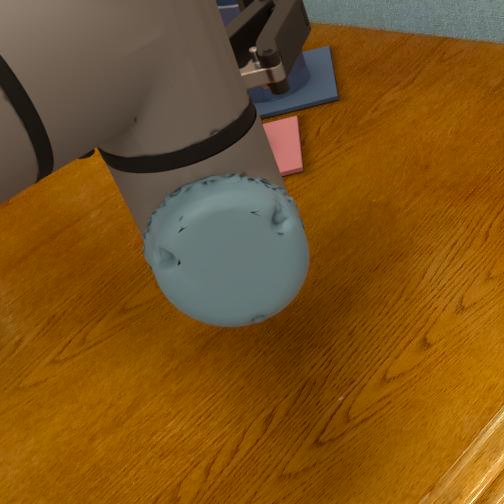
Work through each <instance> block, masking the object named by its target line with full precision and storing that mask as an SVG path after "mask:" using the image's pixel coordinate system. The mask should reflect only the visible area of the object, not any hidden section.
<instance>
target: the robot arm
mask: <svg viewBox="0 0 504 504" xmlns="http://www.w3.org/2000/svg"><path fill="white" fill-rule="evenodd" d="M236 1H237V4H238V7H239V10H240V12H241V13H240V14H239V15H238V16H237V17H236V18H235V19H234V20H233V21H231V22H230V23H229V24H228V25H227V26H226V27H225V26H224V23H223V20H222V18H221V15H220V12H219V9H218V6H217V3H216V0H0V206H1V205H3V204H5V203H6V202H9V200H11V199H13V198H14V197H16V196H17V195H19V194H21V193H23V192H24V191H26V190H27V189H29V188H30V187H32V186H33V185H35V184H38V183H40V181H42V180H44V179H45V178H47V177H49V176H51V175H52V174H54V173H55V172H58V171H59V170H61V169H63V168H64V167H65V166H67V165H70V164H71V163H73V162H75V161H76V160H85V159H88V158H91V157H92V156H94V155H95V153H96V149H97V150H98V153H99V154H100V156H101V158H102V160H103V162H104V163H105V165H106V166H107V169H108V170H109V173H110V175H111V177H112V178H113V180H114V183H115V184H116V186H117V188H118V191H119V192H120V194H121V196H122V198H123V200H124V202H125V204H126V206H127V208H128V210H129V212H130V214H131V216H132V218H133V220H134V222H135V224H136V227H137V229H138V232H139V233H140V235H141V238H142V241H143V245H142V247H141V251H142V254H143V257H144V259H145V261H146V263H147V265H148V267H149V268H150V271H151V272H152V273H153V275H154V278H155V281H156V283H157V285H158V287H159V289H160V290H161V293H163V295H164V297H165V298H166V299H167V300H168V301H169V303H170V304H171V305H172V306H174V308H176V309H177V310H178V311H180V312H181V313H183V314H184V315H186V316H187V317H189V318H191V319H193V320H195V321H198V322H200V323H202V324H206V325H208V326H209V325H210V326H214V327H219V328H241V327H245V326H251V325H254V324H260V323H262V322H264V321H266V320H268V319H270V318H273V317H275V316H276V315H278V314H279V313H281V311H284V309H286V308H287V307H288V306H289V305H290V304H291V303H292V302H293V301H294V300H295V298H296V297H297V295H298V294H299V292H300V290H301V289H302V287H303V285H304V284H305V281H306V280H307V279H306V278H307V275H308V272H309V267H310V247H309V242H308V237H307V235H306V232H305V223H304V220H303V218H302V217H301V216H300V210H299V206H298V205H297V203H296V202H295V200H294V198H293V196H290V193H289V191H288V188H287V186H286V183H285V181H284V179H283V176H281V173H280V170H279V168H278V165H277V162H276V160H275V157H274V154H273V151H272V149H271V146H270V143H269V140H268V138H267V135H266V132H265V130H264V127H263V124H264V123H263V122H262V119H260V116H259V113H258V111H257V108H256V107H255V105H254V104H253V101H252V98H251V95H250V93H249V91H248V90H247V89H251V88H255V87H258V86H262V88H263V89H268V88H270V90H271V93H272V94H273V95H281V94H284V93H286V92H288V91H289V90H290V85H289V82H288V78H287V77H288V75H289V73H290V71H291V69H292V67H293V65H294V63H295V61H296V59H297V57H298V55H299V53H300V51H301V49H302V50H303V47H304V46H305V44H306V41H307V40H308V38H309V36H310V34H311V32H312V26H311V23H310V20H309V16H308V12H307V10H306V6H305V3H304V0H280V1H274V0H236Z"/></svg>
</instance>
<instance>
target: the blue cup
mask: <svg viewBox="0 0 504 504" xmlns="http://www.w3.org/2000/svg"><path fill="white" fill-rule="evenodd" d="M274 1H280V0H274ZM216 3H217V6H218V9H219V12H220V15H221V18H222V20H223V23H224V26H225V27H226V26H227V25H228V24H229V23H230V22H231V21H233V20H234V19H235V18H236V17H237V16H238V15H239V14H240V13H241V12H240V10H239V7H238V4H237V1H236V0H216ZM303 52H304V50H303V48H302V49H301V51H300V53H299V55H298V57H297V59H296V61H295V63H294V65H293V67H292V69H291V71H290V73H289V75H288V77H287V78H288V82H289V85H290V90H289V91H288V92H286V93H284V94H281V95H273V94H272V93H271V90H270V88H268V89H263V88H262V86H258V87H255V88H251V89H247V90H248V91H249V93H250V95H251V98H252V101H253V103H265V102H270V101H275V100H278V99H281V98H284V97H287V96H289V95H291V94H293V93H295V92H297V91H298V90H300V89H301V88H303V87H304V86H305V85H306V84H307V83H308V81H309V79H310V73H309V69H308V65H307V62H306V59H305V56H304V53H303Z"/></svg>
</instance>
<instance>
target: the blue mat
mask: <svg viewBox="0 0 504 504" xmlns="http://www.w3.org/2000/svg"><path fill="white" fill-rule="evenodd" d="M303 53H304V56H305V59H306V62H307V65H308V69H309V73H310V79H309V81H308V83H307V84H306V85H305V86H304V87H303V88H301V89H300V90H298V91H297V92H295V93H293V94H291V95H289V96H287V97H284V98H281V99H278V100H275V101H270V102H265V103H253V104H254V105H255V107H256V108H257V111H258V113H259V116H260V119H261V120H262V119H267V118H271V117H274V116H278V115H284V114H287V113H291V112H294V111H299V110H304V109H306V108H311V107H315V106H319V105H323V104H327V103H331V102H336V101H338V100H340V98H339V93H338V92H339V91H338V87H337V81H336V74H335V70H334V69H335V68H334V64H333V63H334V62H333V57H332V51H331V47H330V45H325V46H322V47H318V48H314V49H309V50H305V51H303Z"/></svg>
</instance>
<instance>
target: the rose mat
mask: <svg viewBox="0 0 504 504" xmlns="http://www.w3.org/2000/svg"><path fill="white" fill-rule="evenodd" d="M262 124H263V127H264V130H265V132H266V135H267V138H268V140H269V143H270V146H271V149H272V151H273V154H274V157H275V160H276V162H277V165H278V168H279V170H280V173H281V176H282V177H285V176H289V175H293V174H298V173H301V172H304V163H303V153H302V144H301V133H300V124H299V118H298V116H297V115H294V116H290V117H286V118H282V119H278V120H274V121H269V122H266V123H262Z"/></svg>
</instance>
